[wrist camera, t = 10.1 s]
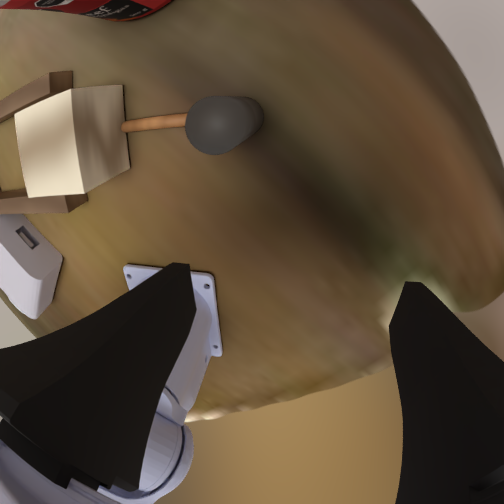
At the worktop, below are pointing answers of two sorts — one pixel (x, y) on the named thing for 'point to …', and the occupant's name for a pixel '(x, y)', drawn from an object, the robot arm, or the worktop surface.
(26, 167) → the cream grey uneven dumbbell
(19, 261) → the charger
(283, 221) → the worktop surface
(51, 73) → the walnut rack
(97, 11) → the canned food
